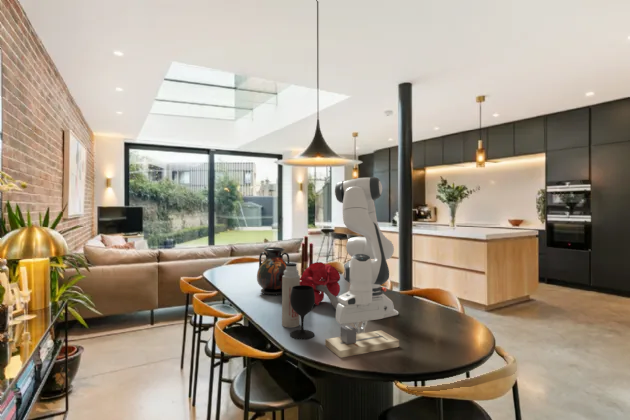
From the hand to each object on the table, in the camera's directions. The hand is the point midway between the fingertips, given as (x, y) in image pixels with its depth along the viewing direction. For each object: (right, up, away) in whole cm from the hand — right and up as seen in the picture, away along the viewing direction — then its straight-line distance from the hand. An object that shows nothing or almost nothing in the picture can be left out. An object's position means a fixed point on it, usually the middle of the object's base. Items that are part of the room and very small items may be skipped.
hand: (360, 332), depth 135 cm
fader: (-5, -2, -2) cm, 6 cm away
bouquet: (-14, -5, +58) cm, 59 cm away
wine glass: (-23, -5, +11) cm, 26 cm away
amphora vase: (-43, -5, +83) cm, 94 cm away
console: (+1, -5, 0) cm, 5 cm away
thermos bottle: (-29, -5, +24) cm, 38 cm away
